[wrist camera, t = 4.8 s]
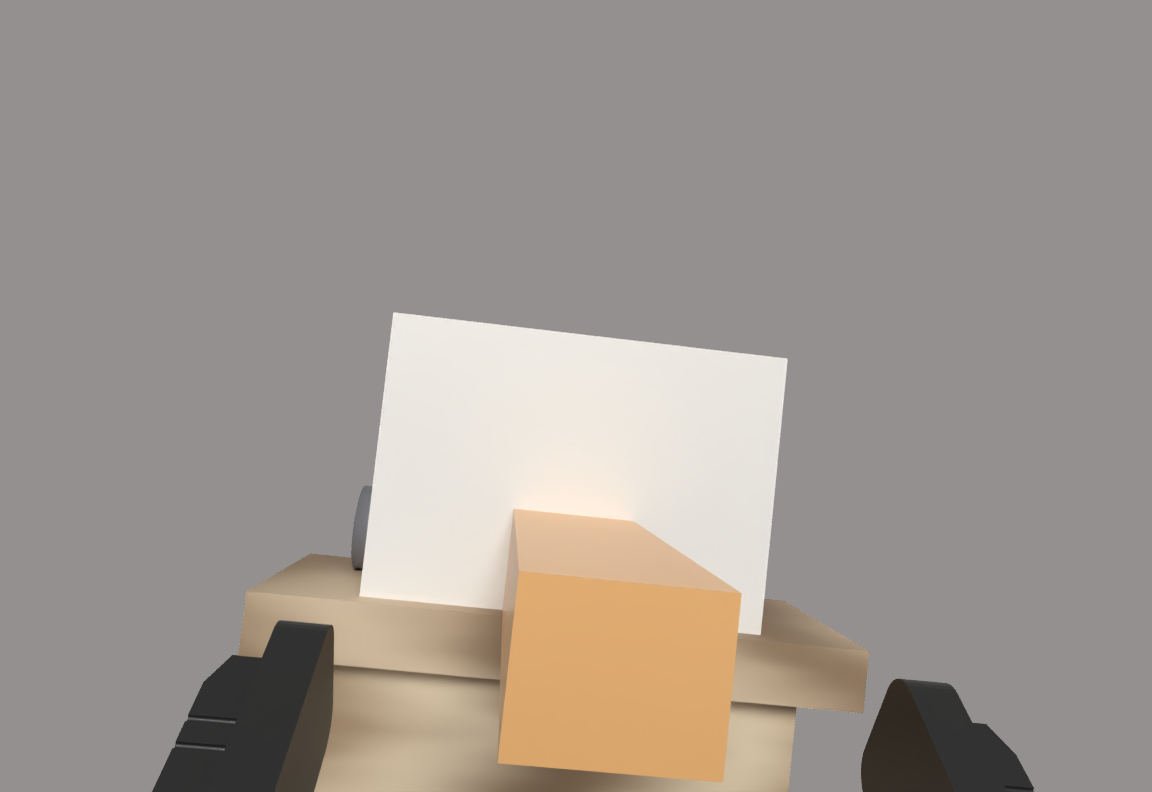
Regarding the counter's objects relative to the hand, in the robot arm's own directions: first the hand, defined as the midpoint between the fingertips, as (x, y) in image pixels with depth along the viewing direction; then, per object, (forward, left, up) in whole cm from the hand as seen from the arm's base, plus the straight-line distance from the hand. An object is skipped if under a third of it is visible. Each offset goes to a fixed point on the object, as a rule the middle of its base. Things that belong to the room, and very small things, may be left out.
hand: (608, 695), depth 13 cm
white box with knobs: (0, -7, -1) cm, 7 cm away
